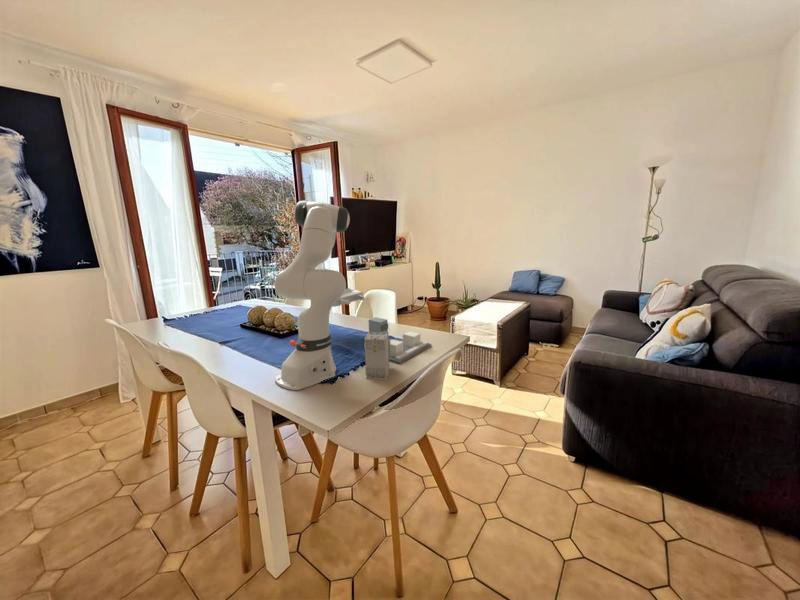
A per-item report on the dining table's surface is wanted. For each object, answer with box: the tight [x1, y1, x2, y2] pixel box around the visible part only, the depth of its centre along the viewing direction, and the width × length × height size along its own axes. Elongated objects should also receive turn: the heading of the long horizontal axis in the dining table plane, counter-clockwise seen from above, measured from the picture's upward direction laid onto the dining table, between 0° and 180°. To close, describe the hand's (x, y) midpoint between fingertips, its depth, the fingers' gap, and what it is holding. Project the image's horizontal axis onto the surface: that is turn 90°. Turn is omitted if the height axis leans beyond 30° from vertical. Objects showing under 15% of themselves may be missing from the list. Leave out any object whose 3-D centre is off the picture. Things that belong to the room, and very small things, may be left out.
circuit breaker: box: [363, 331, 391, 380], centre depth 123 cm, size 8×14×15 cm, turn 174°
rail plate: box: [389, 330, 432, 365], centre depth 143 cm, size 24×14×6 cm, turn 143°
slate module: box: [368, 317, 389, 333], centre depth 151 cm, size 5×8×12 cm, turn 53°
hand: (356, 300), depth 155 cm, fingers open, 8 cm apart
